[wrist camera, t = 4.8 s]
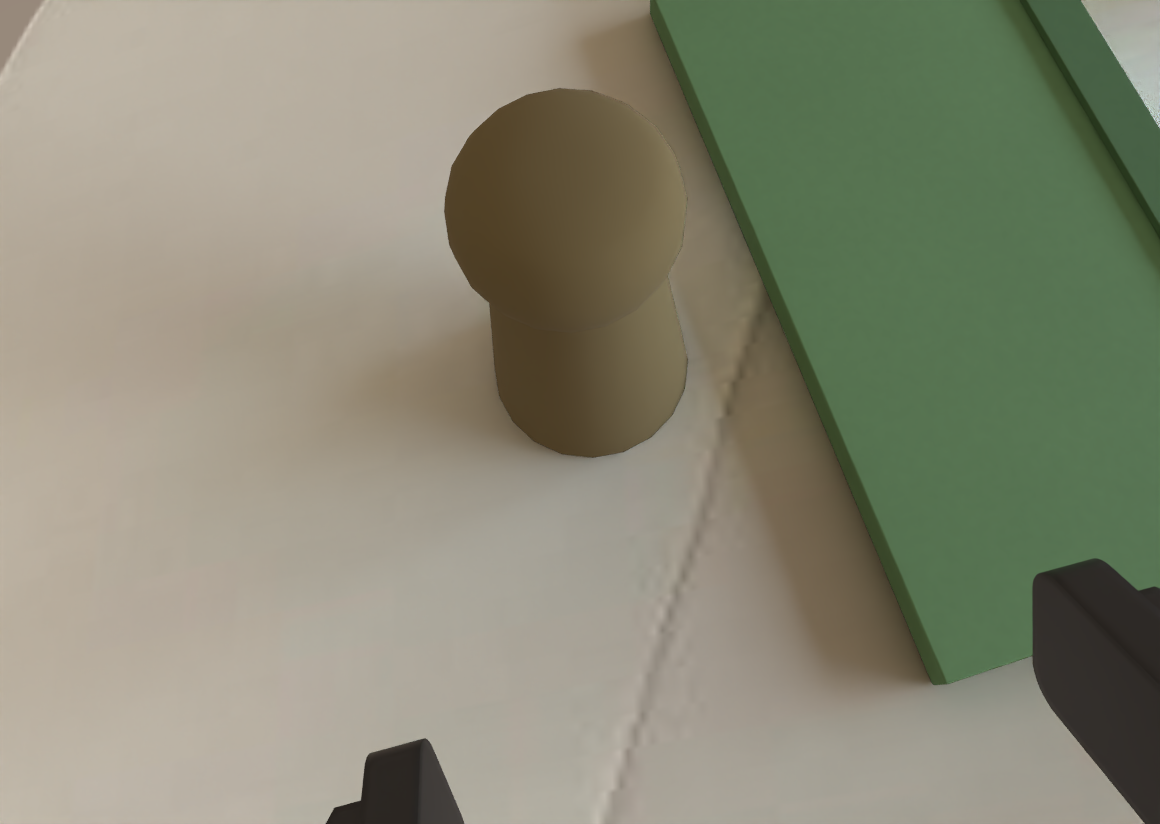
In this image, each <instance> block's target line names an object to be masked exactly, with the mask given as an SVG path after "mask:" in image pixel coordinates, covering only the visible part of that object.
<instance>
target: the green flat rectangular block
mask: <svg viewBox="0 0 1160 824" xmlns="http://www.w3.org/2000/svg"><path fill="white" fill-rule="evenodd" d="M650 14H651V17H652V19H653V22H654V24H655V26H656V29H657V31H658V33H659V36H660V38H661V41H662V43H663V45H664V48H665V50H666V52H667V55H668V57H669V60H670V62H671V64H672V67H673V69H674V71H675V74H676V76H677V79H678V81H679V83H680V86H681V88H682V90H683V93H684V95H685V98H686V100H687V102H688V105H689V107H690V109H691V112H692V114H693V117H694V119H695V121H696V124H697V126H698V128H699V131H700V133H701V136H702V138H703V140H704V143H705V145H706V147H707V150H708V152H709V155H710V157H711V159H712V162H713V164H714V166H715V169H716V171H717V174H718V176H719V178H720V181H721V183H722V185H723V188H724V190H725V193H726V195H727V197H728V200H729V202H730V205H731V207H732V209H733V212H734V214H735V216H736V219H737V221H738V224H739V226H740V228H741V231H742V233H743V235H744V238H745V240H746V243H747V245H748V247H749V250H750V252H751V254H752V257H753V259H754V262H755V264H756V266H757V269H758V271H759V273H760V276H761V278H762V281H763V283H764V285H765V288H766V290H767V292H768V295H769V297H770V300H771V302H772V304H773V307H774V309H775V311H776V314H777V316H778V319H779V321H780V323H781V326H782V328H783V330H784V333H785V335H786V338H787V340H788V342H789V345H790V347H791V349H792V352H793V354H794V357H795V359H796V361H797V364H798V366H799V368H800V371H801V373H802V376H803V378H804V380H805V383H806V385H807V387H808V390H809V392H810V395H811V397H812V399H813V402H814V404H815V406H816V409H817V411H818V414H819V416H820V418H821V421H822V423H823V425H824V428H825V430H826V433H827V435H828V437H829V440H830V442H831V444H832V447H833V449H834V452H835V454H836V456H837V459H838V461H839V463H840V466H841V468H842V471H843V473H844V475H845V478H846V480H847V482H848V485H849V487H850V490H851V492H852V494H853V497H854V499H855V501H856V504H857V506H858V509H859V511H860V513H861V516H862V518H863V520H864V523H865V525H866V528H867V530H868V532H869V535H870V537H871V539H872V542H873V544H874V547H875V549H876V551H877V554H878V556H879V558H880V561H881V563H882V566H883V568H884V570H885V573H886V575H887V577H888V580H889V582H890V585H891V587H892V589H893V592H894V594H895V596H896V599H897V601H898V604H899V606H900V608H901V611H902V613H903V615H904V618H905V620H906V623H907V625H908V627H909V630H910V632H911V634H912V637H913V639H914V642H915V644H916V646H917V649H918V651H919V653H920V656H921V658H922V661H923V663H924V665H925V668H926V670H927V672H928V675H929V677H930V680H931V682H932V684H933V685H942V684H950V683H953V682H955V681H958V680H961V679H964V678H967V677H970V676H973V675H976V674H979V673H982V672H985V671H988V670H991V669H994V668H997V667H1000V666H1003V665H1006V664H1009V663H1012V662H1015V661H1018V660H1021V659H1024V658H1027V657H1030V656H1033V624H1032V587H1033V580H1034V578H1035V576H1036V575H1037V574H1038V573H1042V572H1045V571H1049V570H1053V569H1056V568H1060V567H1064V566H1067V565H1071V564H1075V563H1078V562H1082V561H1086V560H1089V559H1093V558H1097V559H1101V560H1103V561H1105V562H1106V563H1108V564H1109V565H1110V566H1111V567H1112V568H1113V569H1115V570H1116V571H1117V572H1118V573H1119V574H1120V575H1121V576H1122V577H1123V578H1125V579H1126V580H1127V581H1128V582H1129V583H1130V584H1131V585H1132V586H1133V587H1135V588H1136V589H1137V590H1138V591H1139V590H1142V589H1146V588H1150V587H1153V586H1155V587H1157V588H1160V129H1159V127H1158V125H1157V124H1156V122H1155V120H1154V119H1153V117H1152V116H1151V114H1150V112H1149V111H1148V109H1147V107H1146V106H1145V104H1144V103H1143V101H1142V99H1141V98H1140V96H1139V94H1138V93H1137V91H1136V90H1135V88H1134V86H1133V85H1132V83H1131V81H1130V80H1129V78H1128V77H1127V75H1126V73H1125V72H1124V70H1123V69H1122V67H1121V65H1120V64H1119V62H1118V60H1117V59H1116V57H1115V56H1114V54H1113V52H1112V51H1111V49H1110V47H1109V46H1108V44H1107V43H1106V41H1105V39H1104V38H1103V36H1102V34H1101V33H1100V31H1099V30H1098V28H1097V26H1096V25H1095V23H1094V22H1093V20H1092V18H1091V17H1090V15H1089V13H1088V12H1087V10H1086V9H1085V7H1084V5H1083V4H1082V2H1081V0H650Z"/></svg>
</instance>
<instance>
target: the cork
mask: <svg viewBox="0 0 1160 824" xmlns="http://www.w3.org/2000/svg"><path fill="white" fill-rule="evenodd" d="M686 208H687V195H686V191H685V187H684V183H683V179H682V175H681V171H680V166H679V164H678V161H677V159H676V156H675V154H674V152H673V151H672V149H671V148H670V146H669V145H668V143H667V142H666V140H665V139H664V137H663V136H662V134H661V133H660V131H659V130H658V128H657V127H656V126H655V125H654V124H652V123H651V122H650V121H648V120H647V119H646V118H644V117H643V116H642V115H641V114H639V113H638V112H637V111H635V110H634V109H633V108H631V107H630V106H628V105H627V104H625V103H623V102H621V101H619V100H616V99H613V98H610V97H608V96H605V95H602V94H599V93H597V92H594V91H590V90H576V89H562V88H558V89H553V90H548V91H543V92H538V93H533V94H528V95H525V96H523V97H521V98H519V99H517V100H515V101H513V102H511V103H509V104H507V105H505V106H503V107H501V108H499V109H498V110H497V111H495V112H494V113H493V114H492V115H491V116H490V117H489V118H488V119H487V120H486V121H484V122H483V123H482V124H481V125H480V126H479V127H478V128H477V129H476V130H475V131H474V132H473V133H472V134H471V135H470V136H469V138H468V139H467V141H466V143H465V144H464V146H463V148H462V149H461V151H460V153H459V155H458V156H457V158H456V160H455V161H454V163H453V165H452V167H451V172H450V177H449V182H448V186H447V191H446V196H445V209H444V213H445V220H446V226H447V233H448V240H449V245H450V248H451V250H452V252H453V254H454V256H455V258H456V260H457V262H458V264H459V266H460V267H461V269H462V271H463V273H464V275H465V276H466V278H467V280H468V282H469V284H470V286H471V287H472V288H473V289H474V290H475V291H476V292H477V293H479V294H480V295H481V296H482V297H483V298H484V299H485V300H486V301H488V302H489V305H490V317H491V329H492V341H493V353H494V365H495V373H496V379H497V386H498V392H499V397H500V399H501V400H502V402H503V404H504V406H505V408H506V410H507V412H508V413H509V415H510V417H511V419H512V421H513V422H514V423H515V424H516V425H517V426H518V427H519V428H520V429H522V430H523V431H524V432H525V433H526V434H527V435H528V436H529V437H530V438H531V439H532V440H533V441H534V442H537V443H539V444H541V445H543V446H546V447H548V448H550V449H552V450H554V451H557V452H559V453H561V454H566V455H575V456H583V457H592V458H594V457H599V456H604V455H609V454H615V453H620V452H624V451H626V450H628V449H630V448H632V447H634V446H635V445H637V444H639V443H641V442H643V441H645V440H647V439H648V438H650V437H652V436H653V435H654V434H655V433H656V431H657V430H658V429H659V428H660V427H661V426H662V425H663V424H664V423H665V422H666V421H667V420H668V419H669V418H670V417H671V416H672V414H673V412H674V410H675V408H676V406H677V404H678V402H679V400H680V398H681V395H682V393H683V391H684V389H685V382H686V373H687V364H688V358H687V354H686V349H685V345H684V341H683V336H682V332H681V328H680V324H679V320H678V316H677V312H676V307H675V303H674V299H673V295H672V291H671V287H670V283H669V279H668V274H669V272H670V270H671V268H672V266H673V264H674V262H675V260H676V258H677V256H678V254H679V252H680V250H681V248H682V242H683V234H684V225H685V217H686Z"/></svg>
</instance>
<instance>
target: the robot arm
mask: <svg viewBox="0 0 1160 824" xmlns="http://www.w3.org/2000/svg"><path fill="white" fill-rule="evenodd" d="M1032 624H1033V667H1034V672H1035V676H1036V679H1037V682H1038V684H1039V687H1040V689H1041V691H1042V693H1043V695H1044V697H1045V699H1046V701H1047V703H1048V704H1049V706H1050V707H1051V709H1052V710H1053V711H1054V713H1055V714H1056V715H1057V716H1058V717H1059V719H1060V720H1061V721H1062V722H1063V724H1064V725H1065V726H1066V727H1067V729H1068V730H1069V731H1070V732H1071V733H1072V735H1073V736H1074V737H1075V738H1076V740H1077V741H1078V742H1079V743H1080V744H1081V746H1082V747H1083V748H1084V749H1085V751H1086V752H1087V753H1088V754H1089V755H1090V757H1091V758H1092V759H1093V760H1094V762H1095V763H1096V764H1097V765H1098V767H1099V768H1100V769H1101V770H1102V771H1103V773H1104V774H1105V775H1106V776H1107V778H1108V779H1109V780H1110V781H1111V782H1112V784H1113V785H1114V786H1115V787H1116V789H1117V790H1118V791H1119V792H1120V793H1121V795H1122V796H1123V797H1124V798H1125V800H1126V801H1127V802H1128V803H1129V805H1130V806H1131V807H1132V808H1133V809H1134V811H1135V812H1136V813H1137V814H1138V816H1139V817H1140V818H1141V819H1142V820H1143V822H1144V823H1145V824H1160V588H1157V587H1155V586H1153V587H1150V588H1146V589H1142V590H1139V591H1138V590H1137V589H1136V588H1135V587H1133V586H1132V585H1131V584H1130V583H1129V582H1128V581H1127V580H1126V579H1125V578H1123V577H1122V576H1121V575H1120V574H1119V573H1118V572H1117V571H1116V570H1115V569H1113V568H1112V567H1111V566H1110V565H1109V564H1108V563H1106V562H1105V561H1103V560H1101V559H1097V558H1093V559H1089V560H1086V561H1082V562H1078V563H1075V564H1071V565H1067V566H1064V567H1060V568H1056V569H1053V570H1049V571H1045V572H1042V573H1038V574H1037V575H1036V576H1035V578H1034V580H1033V587H1032ZM326 824H464V821H463V818H462V815H461V813H460V811H459V808H458V806H457V804H456V801H455V799H454V796H453V794H452V792H451V789H450V787H449V785H448V782H447V780H446V778H445V775H444V773H443V771H442V768H441V766H440V764H439V761H438V759H437V757H436V754H435V752H434V750H433V748H432V745H431V744H430V742H429V741H428V740H427V739H426V738H425V739H421V740H417V741H413V742H410V743H406V744H402V745H399V746H395V747H391V748H388V749H384V750H380V751H377V752H373V753H370V754H369V755H368V756H367V758H366V762H365V769H364V778H363V788H362V797H361V801H358V802H354V803H350V804H347V805H343V806H339V807H336V808H334V810H333V812H332V813H331V815H330V817H329V819H328V821H327V823H326Z"/></svg>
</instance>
